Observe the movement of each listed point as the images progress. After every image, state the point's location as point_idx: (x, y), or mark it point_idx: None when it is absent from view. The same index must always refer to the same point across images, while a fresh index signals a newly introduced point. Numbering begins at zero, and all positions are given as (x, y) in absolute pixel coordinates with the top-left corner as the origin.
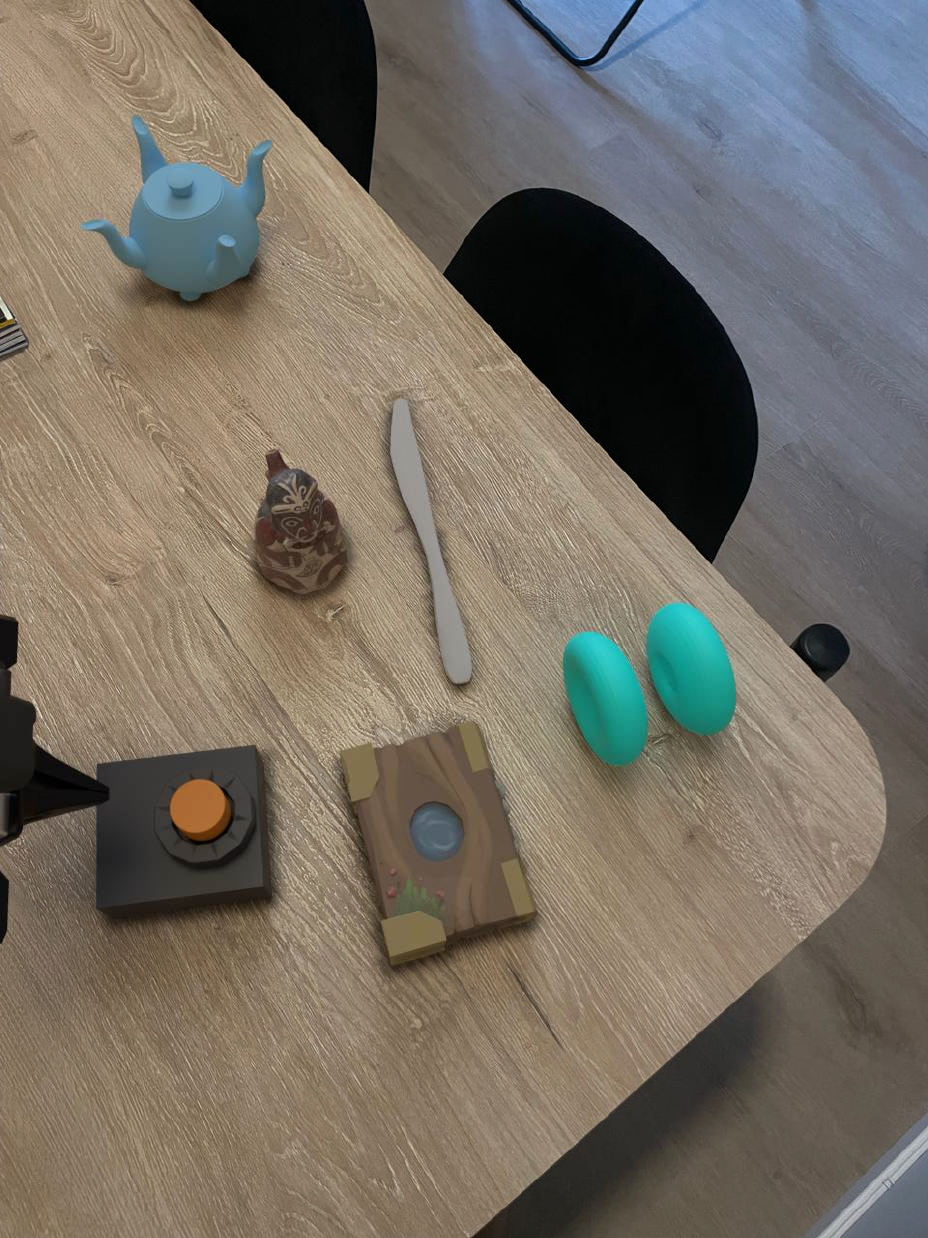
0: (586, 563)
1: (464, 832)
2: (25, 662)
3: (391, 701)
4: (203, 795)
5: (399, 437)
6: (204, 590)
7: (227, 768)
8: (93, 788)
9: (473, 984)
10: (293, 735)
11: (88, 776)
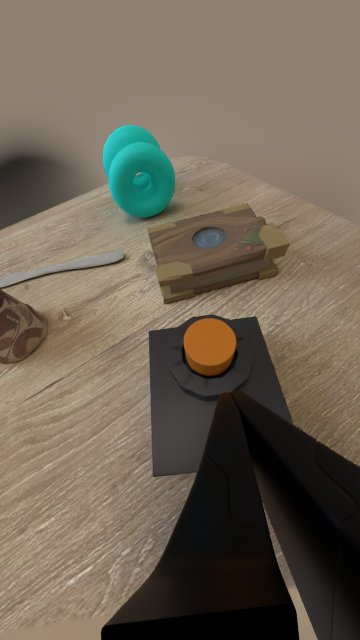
0: (76, 220)
1: (209, 227)
2: (22, 603)
3: (127, 284)
4: (199, 336)
5: None
6: (18, 401)
7: (166, 348)
8: (234, 405)
9: None
10: (141, 332)
11: (215, 414)
